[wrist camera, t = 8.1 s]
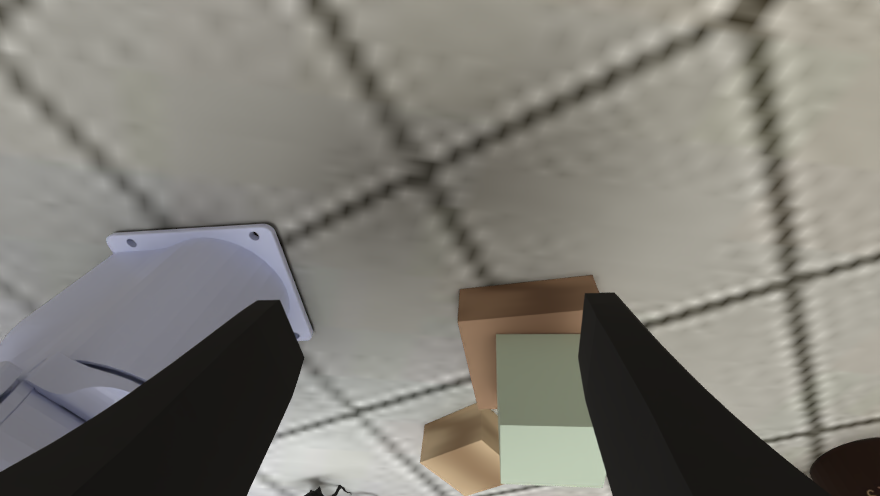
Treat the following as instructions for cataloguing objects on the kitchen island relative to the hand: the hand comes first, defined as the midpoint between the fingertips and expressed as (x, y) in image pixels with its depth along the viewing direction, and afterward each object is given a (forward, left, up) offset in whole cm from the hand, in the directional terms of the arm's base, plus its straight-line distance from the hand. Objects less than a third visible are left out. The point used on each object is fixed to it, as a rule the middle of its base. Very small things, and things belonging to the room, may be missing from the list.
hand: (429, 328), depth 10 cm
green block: (+4, -10, -8) cm, 13 cm away
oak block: (0, -20, -11) cm, 23 cm away
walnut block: (+3, -10, -11) cm, 15 cm away
